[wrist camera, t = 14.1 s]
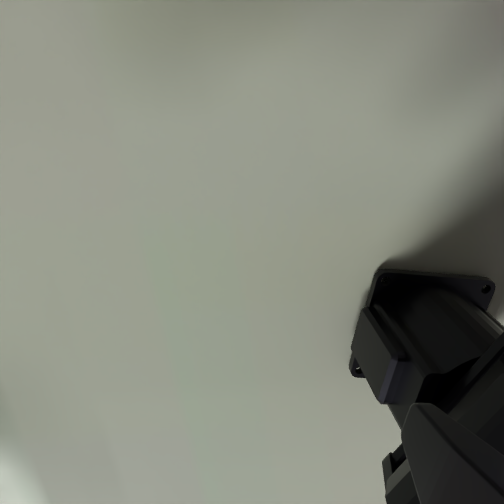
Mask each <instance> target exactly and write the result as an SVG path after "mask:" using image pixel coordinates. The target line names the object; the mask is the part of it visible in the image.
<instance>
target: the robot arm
mask: <svg viewBox="0 0 504 504" xmlns="http://www.w3.org/2000/svg"><path fill="white" fill-rule="evenodd" d="M384 277H388V279H387V280H386V281H385V282H381V280H382V279H383V278H384ZM485 285H486V287H485V288H484V289H483V290H482V288H483V287H484V286H485ZM495 287H496V286H495V283H494V282H493V281H491V280H490V279H489V278H486V277H477V276H466V275H454V274H442V273H430V272H418V271H406V270H395V269H381V270H379V271H378V272H376V273H375V275H374V278H373V281H372V285H371V288H370V292H369V295H368V299H367V303H366V306H365V307H364V308H363V309H362V310H361V313H360V316H359V320H358V323H357V327H356V330H355V334H354V338H353V341H352V345H351V350H352V356H351V359H350V363H349V369H350V372H351V374H352V375H353V376H354V377H357V378H366V379H367V381H368V383H369V385H370V387H371V389H372V391H373V393H374V395H375V397H376V399H377V400H378V401H379V402H380V404H387V405H388V407H389V409H390V410H391V412H392V414H393V416H394V418H395V420H396V422H397V424H398V425H399V427H400V429H401V439H402V444H401V445H400V446H399V447H398V448H397V449H396V450H395V451H394V452H393V453H391V452H390V453H389V454H388V455H387V456H386V457H385V458H384V460H383V461H382V466H383V474H384V482H385V490H386V494H385V498H386V502H387V504H504V326H503V325H501V324H500V323H499V322H498V321H497V320H496V319H495V318H494V317H493V316H491V315H490V314H489V313H488V312H487V308H488V306H489V303H490V301H491V298H492V296H493V294H494V291H495ZM358 367H360V368H359V369H356V368H358Z"/></svg>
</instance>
